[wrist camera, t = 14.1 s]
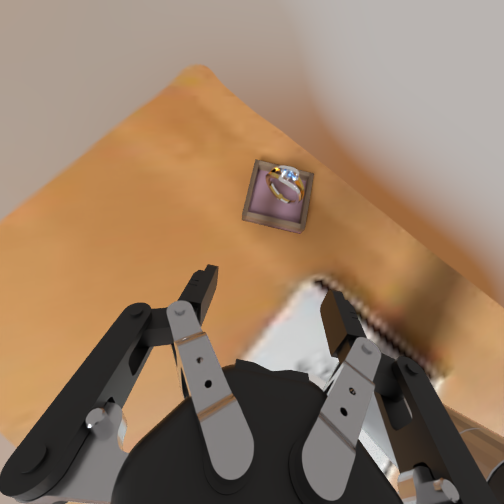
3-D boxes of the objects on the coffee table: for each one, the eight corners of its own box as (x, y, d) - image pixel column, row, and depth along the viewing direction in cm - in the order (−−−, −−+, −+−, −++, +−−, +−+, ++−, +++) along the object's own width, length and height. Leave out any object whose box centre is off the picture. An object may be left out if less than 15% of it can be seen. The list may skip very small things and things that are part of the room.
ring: (259, 191, 36) (265, 163, 28) (271, 180, 36) (280, 150, 28) (286, 217, 35) (300, 196, 27) (298, 206, 36) (315, 182, 28)
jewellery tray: (308, 181, 38) (313, 173, 35) (299, 233, 36) (304, 229, 33) (254, 167, 38) (255, 159, 35) (241, 220, 35) (242, 214, 33)
